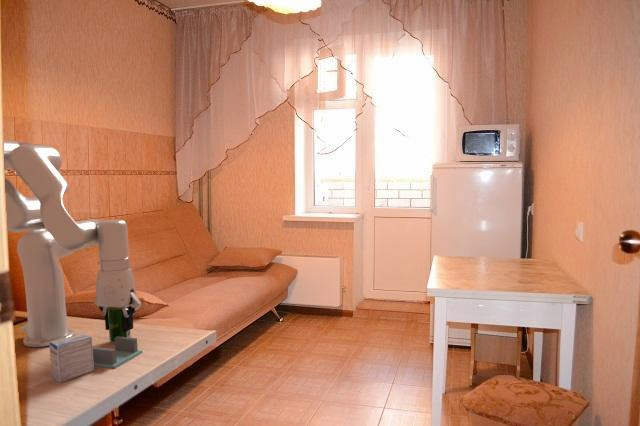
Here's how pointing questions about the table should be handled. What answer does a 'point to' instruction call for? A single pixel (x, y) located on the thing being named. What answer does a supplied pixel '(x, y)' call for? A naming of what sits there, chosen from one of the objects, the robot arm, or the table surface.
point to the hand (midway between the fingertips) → (119, 328)
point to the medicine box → (71, 357)
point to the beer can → (116, 323)
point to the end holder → (116, 353)
